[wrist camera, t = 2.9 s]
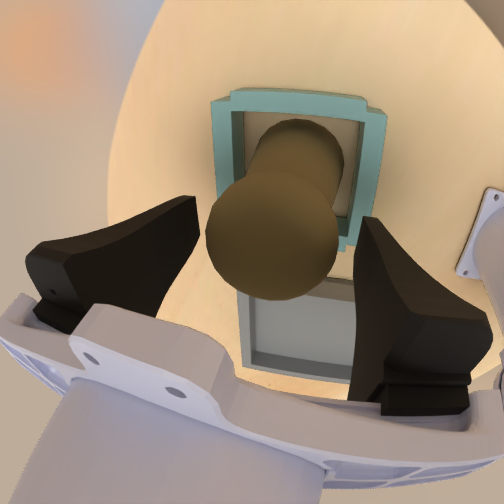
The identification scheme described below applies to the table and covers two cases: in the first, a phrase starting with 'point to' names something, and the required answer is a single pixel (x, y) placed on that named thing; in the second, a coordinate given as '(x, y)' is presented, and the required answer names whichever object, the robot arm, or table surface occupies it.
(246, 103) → the teal collar
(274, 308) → the charcoal tray
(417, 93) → the table surface
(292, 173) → the cork
